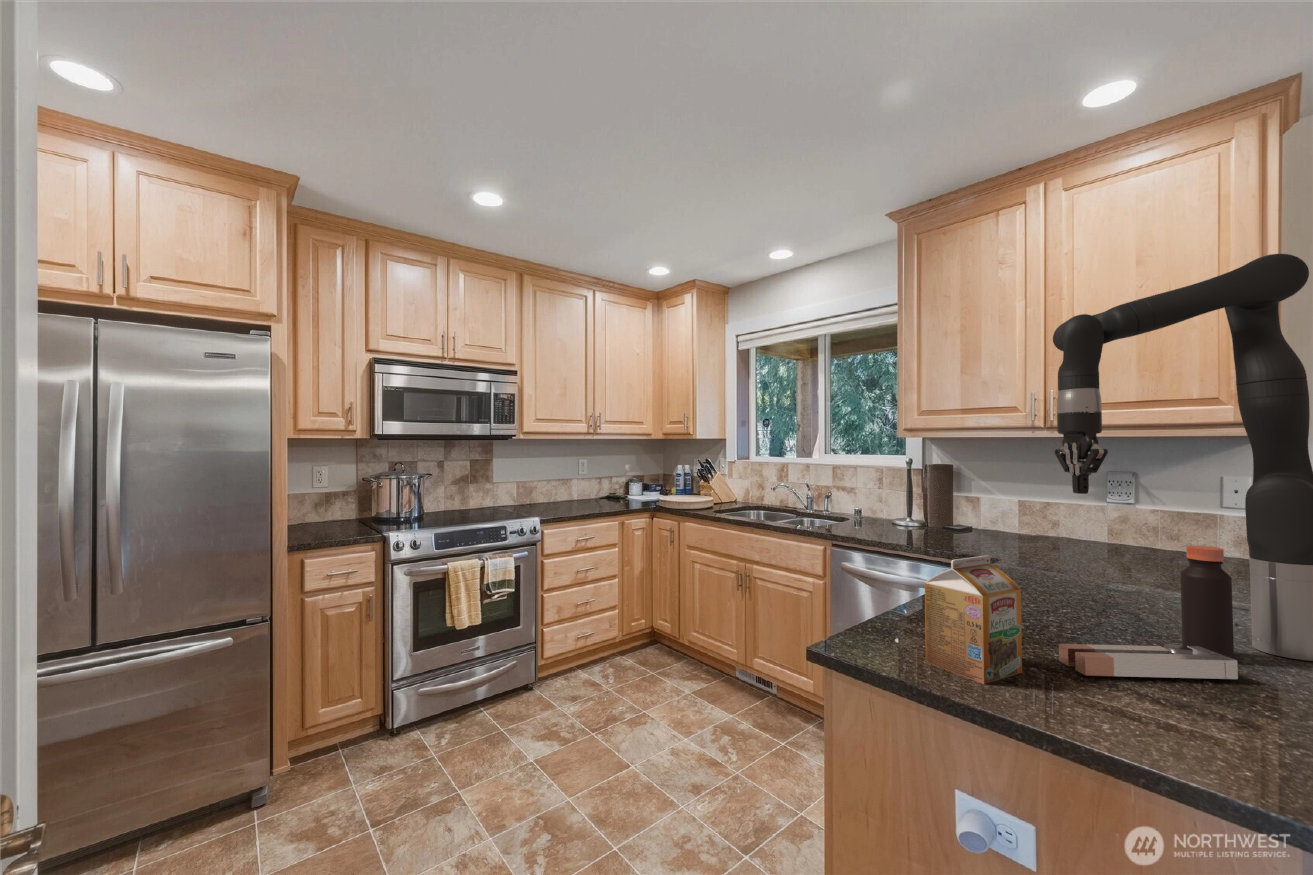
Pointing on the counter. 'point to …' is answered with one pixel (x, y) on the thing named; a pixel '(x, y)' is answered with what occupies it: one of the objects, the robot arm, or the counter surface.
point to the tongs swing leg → (1117, 650)
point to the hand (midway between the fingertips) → (1080, 493)
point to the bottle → (1207, 601)
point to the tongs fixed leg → (1158, 664)
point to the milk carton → (974, 621)
